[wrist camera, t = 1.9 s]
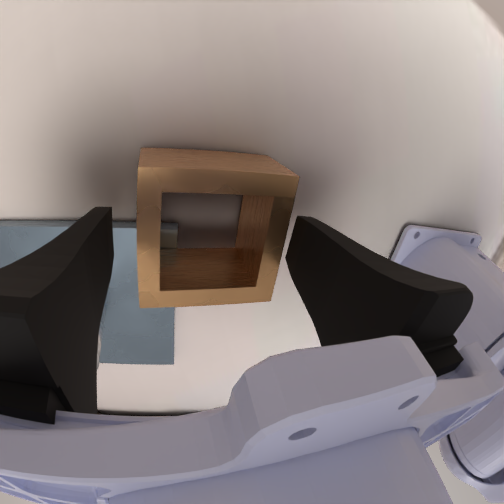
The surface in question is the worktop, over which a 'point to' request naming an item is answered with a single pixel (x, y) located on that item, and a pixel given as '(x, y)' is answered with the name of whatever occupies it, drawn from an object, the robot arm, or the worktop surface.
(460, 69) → the worktop surface
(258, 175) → the square wooden frame
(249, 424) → the robot arm
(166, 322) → the piston plate
